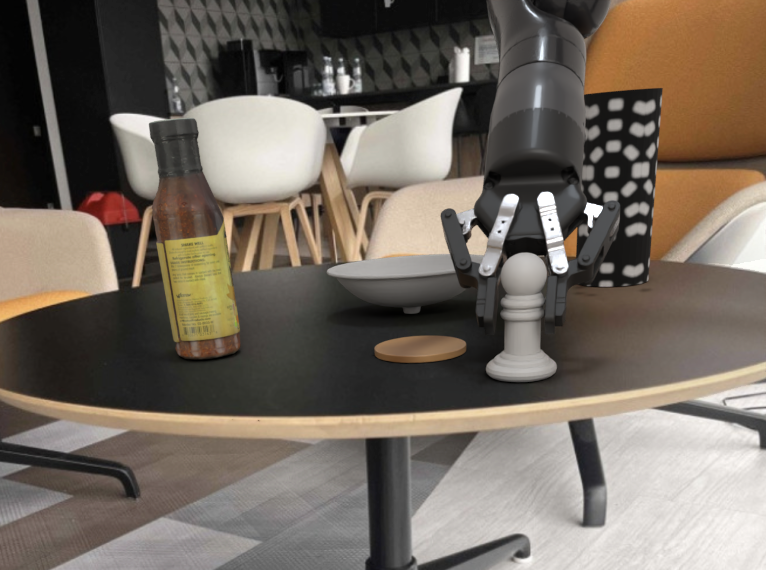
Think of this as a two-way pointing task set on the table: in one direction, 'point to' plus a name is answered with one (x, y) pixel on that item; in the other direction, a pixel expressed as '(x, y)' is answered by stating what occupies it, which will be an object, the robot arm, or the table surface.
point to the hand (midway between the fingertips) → (519, 327)
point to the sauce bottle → (192, 247)
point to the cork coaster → (420, 349)
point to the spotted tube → (622, 177)
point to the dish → (402, 280)
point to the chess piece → (522, 322)
